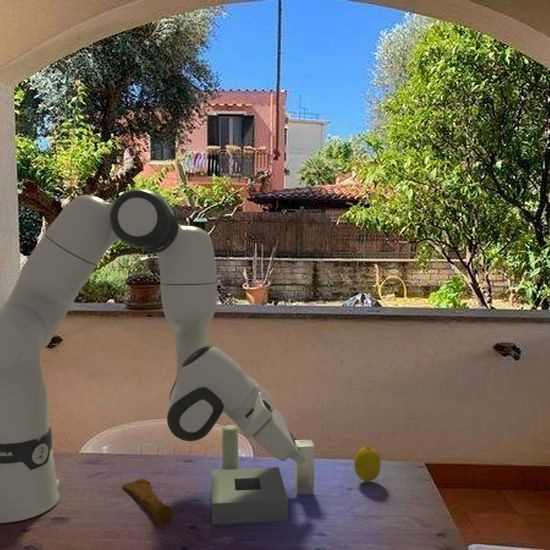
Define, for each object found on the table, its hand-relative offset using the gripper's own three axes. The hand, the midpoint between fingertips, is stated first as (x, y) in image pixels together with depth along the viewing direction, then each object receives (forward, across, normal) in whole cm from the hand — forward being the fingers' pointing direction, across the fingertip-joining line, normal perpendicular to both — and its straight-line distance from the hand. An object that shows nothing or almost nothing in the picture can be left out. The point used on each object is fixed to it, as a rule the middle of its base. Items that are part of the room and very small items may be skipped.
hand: (299, 451), depth 111 cm
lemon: (+17, -2, +5) cm, 17 cm away
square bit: (+6, 0, -5) cm, 8 cm away
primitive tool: (-16, +1, -28) cm, 32 cm away
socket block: (-2, +4, -14) cm, 14 cm away
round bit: (-4, -10, -16) cm, 19 cm away
